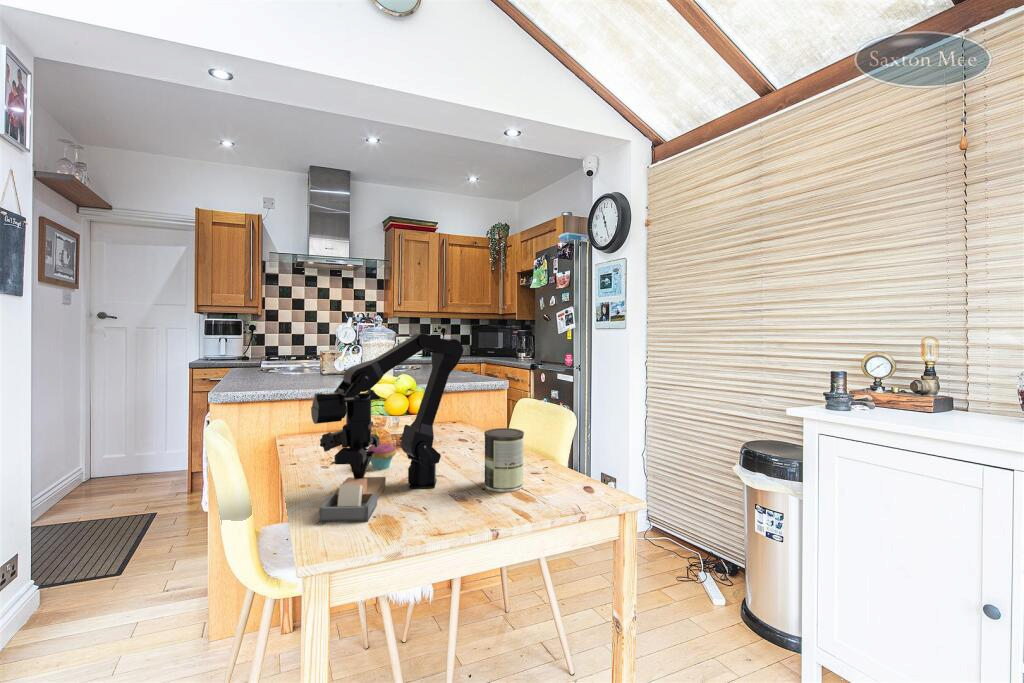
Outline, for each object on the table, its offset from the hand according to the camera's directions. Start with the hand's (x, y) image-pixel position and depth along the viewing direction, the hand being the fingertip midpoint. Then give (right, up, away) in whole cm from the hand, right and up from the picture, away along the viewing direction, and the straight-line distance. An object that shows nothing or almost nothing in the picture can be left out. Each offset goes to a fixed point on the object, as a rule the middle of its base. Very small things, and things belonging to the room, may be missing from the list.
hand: (358, 483), depth 116 cm
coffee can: (+35, -4, +10) cm, 36 cm away
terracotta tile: (0, -1, -3) cm, 4 cm away
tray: (+1, -4, -10) cm, 10 cm away
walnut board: (0, -3, +2) cm, 4 cm away
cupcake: (-2, -3, +26) cm, 26 cm away
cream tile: (+1, -1, -7) cm, 7 cm away
